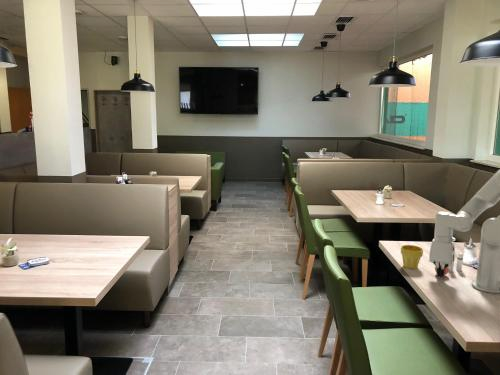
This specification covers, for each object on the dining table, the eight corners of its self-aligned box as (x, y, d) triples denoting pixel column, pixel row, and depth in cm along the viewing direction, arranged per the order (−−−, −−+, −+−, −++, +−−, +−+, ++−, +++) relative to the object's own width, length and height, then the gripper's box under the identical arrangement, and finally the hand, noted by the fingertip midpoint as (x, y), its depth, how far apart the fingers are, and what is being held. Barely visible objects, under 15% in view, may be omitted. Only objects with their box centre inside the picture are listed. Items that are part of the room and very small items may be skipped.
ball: (447, 275, 189) (449, 276, 194) (447, 262, 191) (449, 263, 195) (433, 274, 193) (436, 275, 198) (433, 261, 194) (436, 262, 199)
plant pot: (423, 271, 199) (425, 252, 198) (401, 269, 201) (402, 250, 200) (419, 263, 209) (420, 245, 208) (398, 262, 211) (399, 244, 210)
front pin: (453, 270, 200) (455, 254, 198) (451, 272, 198) (453, 255, 197) (448, 269, 202) (450, 253, 200) (446, 270, 200) (448, 254, 198)
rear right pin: (462, 270, 201) (464, 253, 200) (460, 271, 199) (462, 254, 198) (457, 268, 203) (458, 252, 201) (455, 270, 201) (457, 253, 200)
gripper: (463, 239, 185) (459, 278, 188) (429, 233, 195) (427, 269, 198) (457, 243, 179) (454, 282, 182) (423, 236, 190) (420, 274, 193)
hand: (440, 276), depth 190 cm, fingers closed
